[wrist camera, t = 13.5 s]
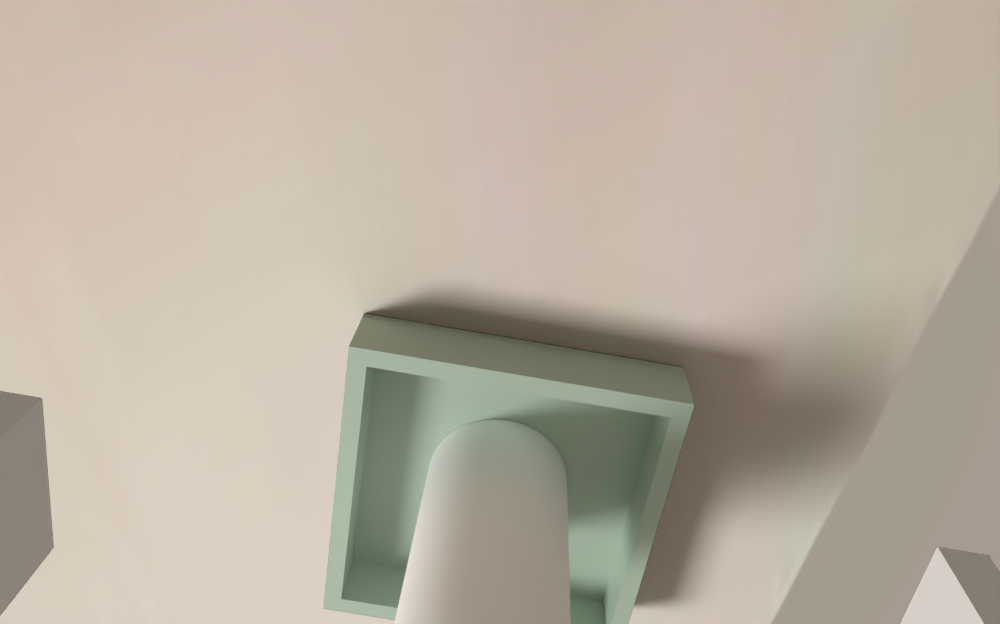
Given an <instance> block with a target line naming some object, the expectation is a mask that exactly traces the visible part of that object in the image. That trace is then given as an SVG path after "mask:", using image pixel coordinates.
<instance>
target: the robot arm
mask: <svg viewBox="0 0 1000 624" xmlns="http://www.w3.org/2000/svg"><path fill="white" fill-rule="evenodd" d="M53 548H54V545H53V532H52V519H51V506H50V493H49V480H48V467H47V454H46V441H45V428H44V415H43V402H42V398H39V397H33V396H27V395H21V394H15V393H9V392H3V391H0V616H1V614H2V613H3V612H4V610H5V609H6V608H7V607H8V605H9V604H10V603H11V601H12V600H13V599H14V598H15V596H16V595H17V594H18V593H19V591H20V590H21V589H22V587H23V586H24V585H25V584H26V582H27V581H28V580H29V578H30V577H31V576H32V575H33V573H34V572H35V571H36V569H37V568H38V567H39V566H40V564H41V563H42V562H43V560H44V559H45V558H46V557H47V555H48V554H49V553H50V551H51V550H52V549H53ZM901 624H1000V571H999V570H998V568H997V567H996V565H995V564H994V562H993V561H992V559H991V558H990V556H989V555H984V554H978V553H972V552H966V551H960V550H954V549H948V548H942V547H937V549H936V552H935V553H934V555H933V558H932V559H931V561H930V564H929V566H928V568H927V570H926V572H925V574H924V576H923V578H922V580H921V582H920V584H919V586H918V588H917V590H916V593H915V595H914V597H913V599H912V601H911V603H910V605H909V607H908V609H907V611H906V613H905V615H904V617H903V619H902V622H901Z"/></svg>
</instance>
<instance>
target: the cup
mask: <svg viewBox="0 0 1000 624" xmlns="http://www.w3.org/2000/svg"><path fill="white" fill-rule="evenodd" d="M394 624H571V615H570V577H569V540H568V502H567V474H566V468H565V464H564V462H563V459H562V457H561V455H560V453H559V452H558V450H557V449H556V447H555V446H554V445H553V444H552V443H551V442H550V441H549V440H548V439H547V438H546V437H545V436H544V435H542V434H541V433H539V432H538V431H536V430H534V429H532V428H530V427H528V426H526V425H523V424H520V423H517V422H513V421H508V420H482V421H477V422H473V423H470V424H467V425H464V426H462V427H460V428H458V429H456V430H455V431H453V432H452V433H450V434H449V435H448V436H447V437H446V438H444V439H443V440H442V442H441V443H440V444H439V445H438V447H437V448H436V450H435V452H434V453H433V456H432V458H431V461H430V464H429V469H428V473H427V478H426V482H425V487H424V491H423V496H422V500H421V505H420V509H419V514H418V518H417V523H416V527H415V532H414V536H413V541H412V546H411V550H410V555H409V559H408V564H407V568H406V573H405V577H404V582H403V586H402V591H401V595H400V600H399V604H398V609H397V613H396V618H395V622H394Z"/></svg>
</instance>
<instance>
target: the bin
mask: <svg viewBox="0 0 1000 624" xmlns="http://www.w3.org/2000/svg"><path fill="white" fill-rule="evenodd" d="M694 405H695V404H694V401H693V397H692V394H691V390H690V387H689V383H688V380H687V377H686V373H685V370H684V367H679V366H673V365H667V364H661V363H655V362H649V361H643V360H637V359H631V358H626V357H620V356H614V355H608V354H602V353H596V352H590V351H584V350H578V349H572V348H566V347H561V346H555V345H549V344H543V343H537V342H531V341H525V340H519V339H513V338H507V337H501V336H496V335H490V334H484V333H478V332H472V331H466V330H460V329H454V328H448V327H442V326H437V325H431V324H425V323H419V322H413V321H407V320H401V319H395V318H389V317H383V316H377V315H372V314H366V313H364V315H363V317H362V319H361V322H360V324H359V326H358V328H357V330H356V332H355V335H354V337H353V339H352V341H351V343H350V345H349V352H348V362H347V372H346V382H345V393H344V403H343V413H342V423H341V433H340V444H339V454H338V464H337V474H336V485H335V495H334V505H333V515H332V525H331V536H330V546H329V556H328V566H327V577H326V587H325V597H324V607H323V609H328V610H334V611H340V612H346V613H352V614H358V615H364V616H371V617H377V618H383V619H389V620H395V618H396V613H397V609H398V604H399V600H400V595H401V591H402V586H403V582H404V577H405V573H406V568H407V564H408V559H409V555H410V550H411V546H412V541H413V536H414V532H415V527H416V523H417V518H418V514H419V509H420V505H421V500H422V496H423V491H424V487H425V482H426V478H427V473H428V469H429V464H430V461H431V458H432V456H433V453H434V452H435V450H436V448H437V447H438V445H439V444H440V443H441V442H442V440H443V439H444V438H446V437H447V436H448V435H449V434H450V433H452V432H453V431H455V430H456V429H458V428H460V427H462V426H464V425H467V424H470V423H473V422H477V421H482V420H508V421H513V422H517V423H520V424H523V425H526V426H528V427H530V428H532V429H534V430H536V431H538V432H539V433H541V434H542V435H544V436H545V437H546V438H547V439H548V440H549V441H550V442H551V443H552V444H553V445H554V446H555V447H556V449H557V450H558V452H559V453H560V455H561V457H562V459H563V462H564V464H565V468H566V474H567V502H568V540H569V577H570V615H571V624H629V620H630V617H631V614H632V610H633V607H634V604H635V600H636V597H637V594H638V590H639V587H640V584H641V581H642V577H643V574H644V571H645V567H646V564H647V561H648V557H649V554H650V551H651V547H652V544H653V541H654V537H655V534H656V531H657V528H658V524H659V521H660V518H661V514H662V511H663V508H664V504H665V501H666V498H667V494H668V491H669V488H670V484H671V481H672V478H673V475H674V471H675V468H676V465H677V461H678V458H679V455H680V451H681V448H682V445H683V441H684V438H685V435H686V431H687V428H688V425H689V422H690V418H691V415H692V412H693V408H694Z"/></svg>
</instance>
